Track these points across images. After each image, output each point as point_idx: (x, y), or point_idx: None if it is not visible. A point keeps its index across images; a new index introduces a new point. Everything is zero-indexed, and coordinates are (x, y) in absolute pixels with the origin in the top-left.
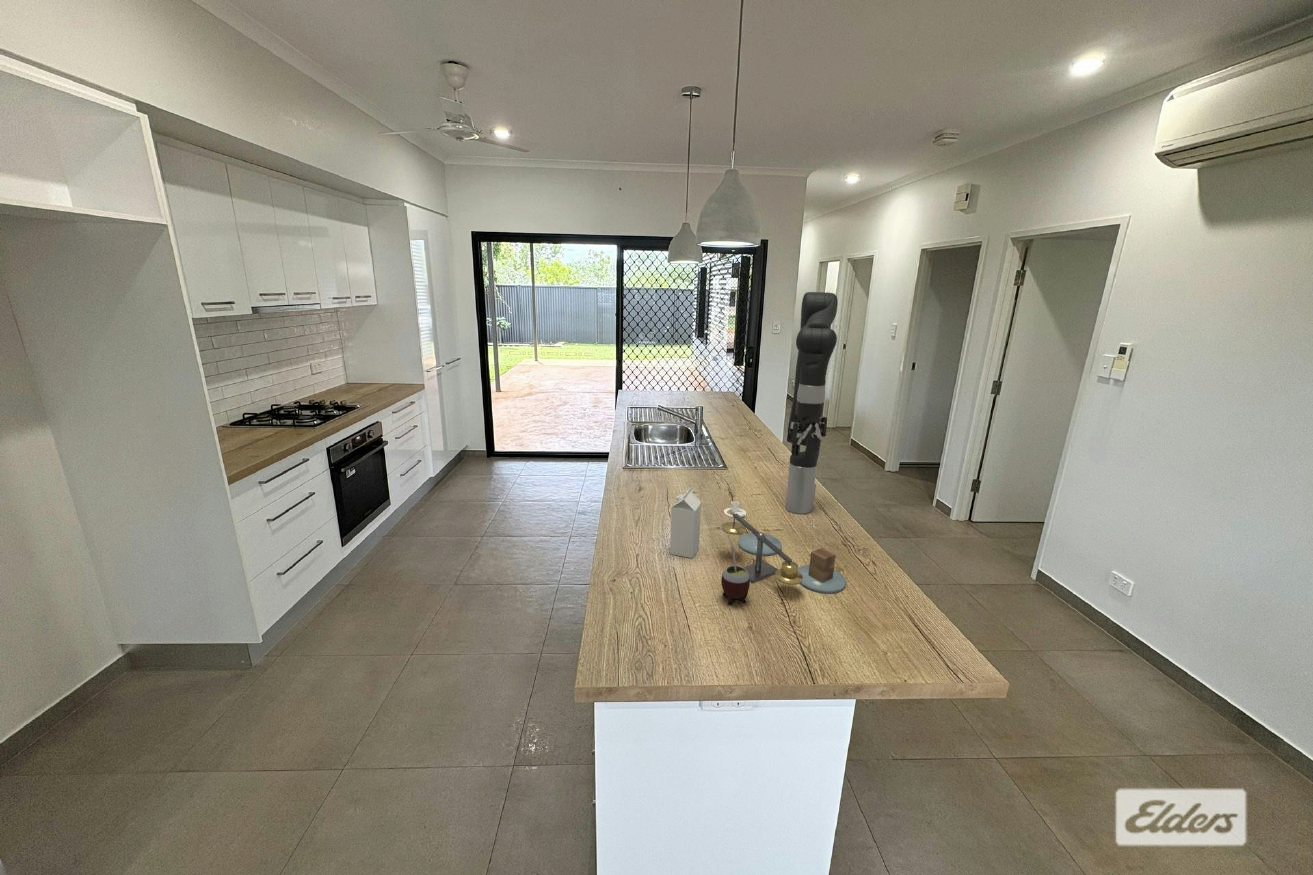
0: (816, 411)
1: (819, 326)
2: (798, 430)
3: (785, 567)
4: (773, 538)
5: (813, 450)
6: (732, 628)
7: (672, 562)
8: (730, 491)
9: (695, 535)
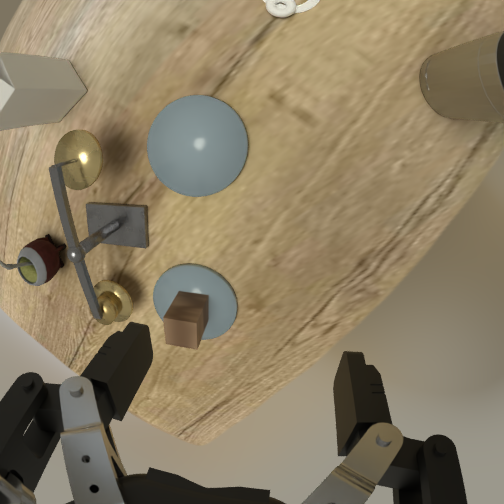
0: None
1: None
2: (103, 483)
3: (91, 312)
4: (239, 151)
5: (341, 364)
6: (34, 286)
7: None
8: None
9: (37, 117)
